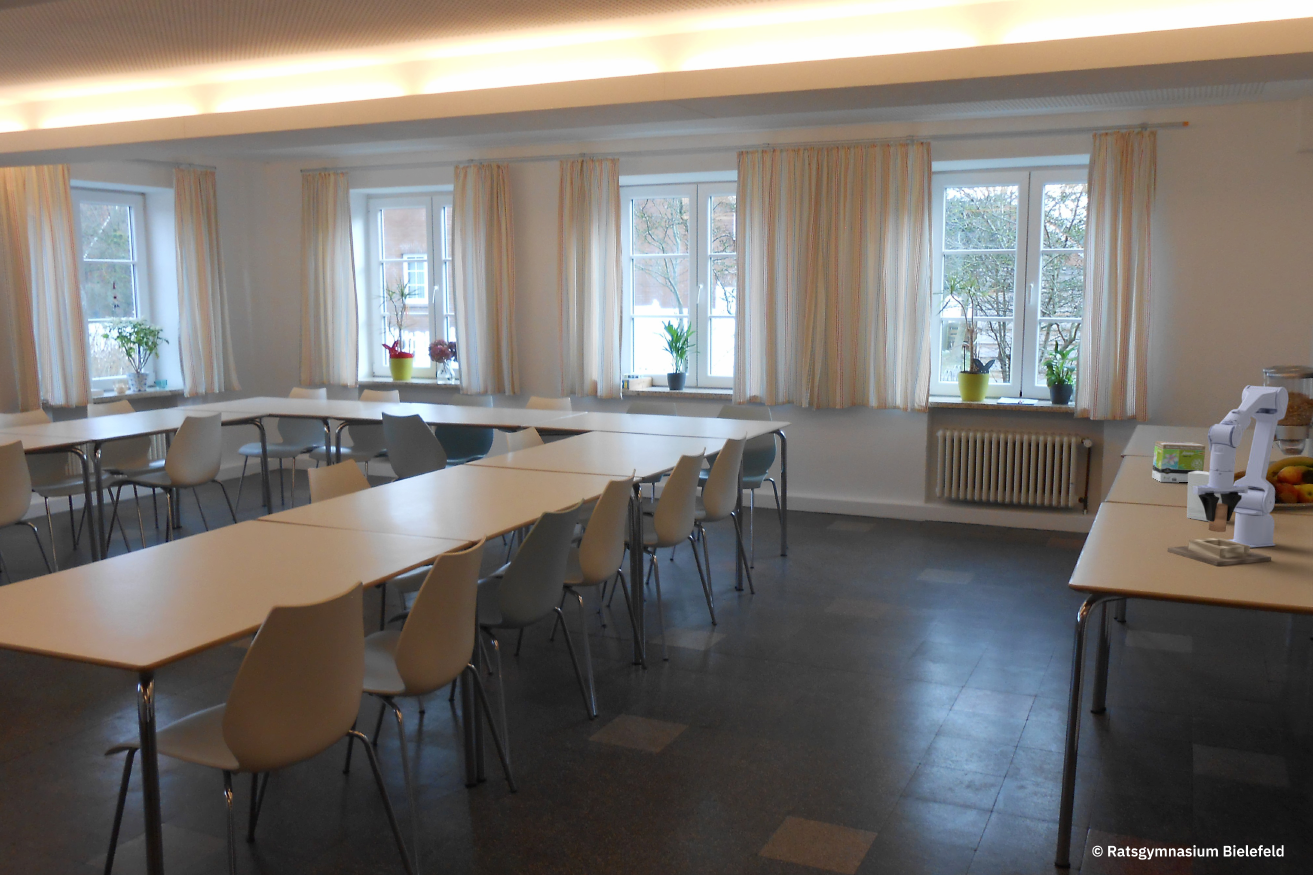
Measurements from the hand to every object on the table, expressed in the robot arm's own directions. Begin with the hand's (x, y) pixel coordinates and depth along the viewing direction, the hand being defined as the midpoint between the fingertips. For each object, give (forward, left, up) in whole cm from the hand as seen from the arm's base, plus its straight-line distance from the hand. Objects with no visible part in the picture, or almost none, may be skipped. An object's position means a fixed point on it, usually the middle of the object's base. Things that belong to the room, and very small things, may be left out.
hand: (1218, 520), depth 264 cm
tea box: (-81, -95, -10) cm, 125 cm away
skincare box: (-34, -37, -10) cm, 51 cm away
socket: (0, +1, -9) cm, 9 cm away
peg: (0, 0, -3) cm, 3 cm away
